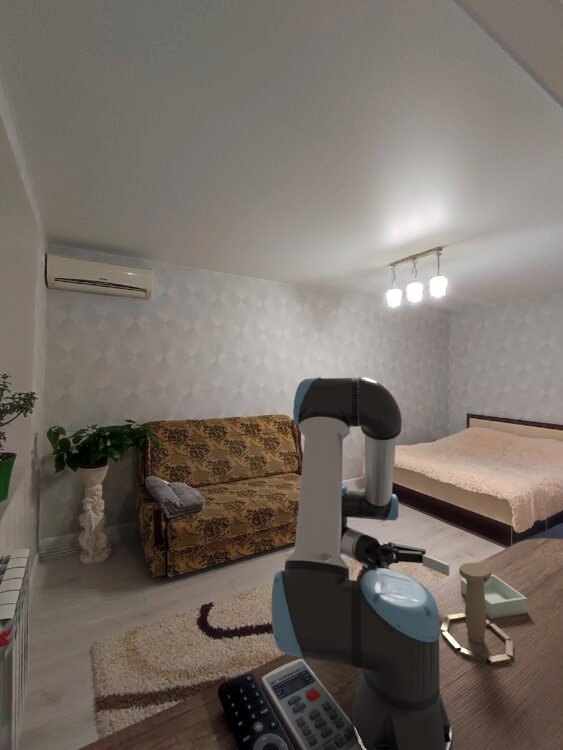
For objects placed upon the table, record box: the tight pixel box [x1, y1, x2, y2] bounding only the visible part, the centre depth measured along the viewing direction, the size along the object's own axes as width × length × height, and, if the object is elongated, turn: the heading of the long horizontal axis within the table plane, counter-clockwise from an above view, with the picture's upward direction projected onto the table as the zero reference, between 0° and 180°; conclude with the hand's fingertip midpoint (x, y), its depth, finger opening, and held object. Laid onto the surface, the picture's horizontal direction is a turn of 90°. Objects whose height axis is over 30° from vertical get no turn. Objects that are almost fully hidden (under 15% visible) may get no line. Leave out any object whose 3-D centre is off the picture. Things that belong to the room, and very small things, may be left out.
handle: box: [458, 562, 492, 645], centre depth 73 cm, size 5×6×15 cm
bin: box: [460, 574, 528, 620], centre depth 85 cm, size 10×10×4 cm
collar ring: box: [440, 612, 514, 667], centre depth 73 cm, size 13×13×1 cm
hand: (436, 581), depth 80 cm, fingers open, 13 cm apart
